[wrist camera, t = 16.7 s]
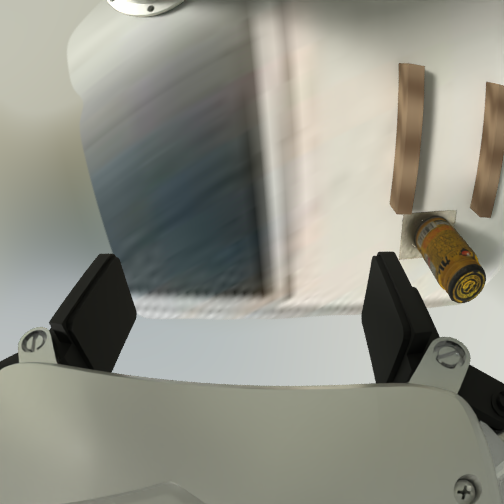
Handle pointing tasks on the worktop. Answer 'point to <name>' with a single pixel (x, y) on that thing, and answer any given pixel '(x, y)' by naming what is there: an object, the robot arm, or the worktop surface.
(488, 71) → the worktop surface
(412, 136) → the channel
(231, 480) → the robot arm
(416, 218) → the yellow and black cylinder
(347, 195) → the worktop surface
